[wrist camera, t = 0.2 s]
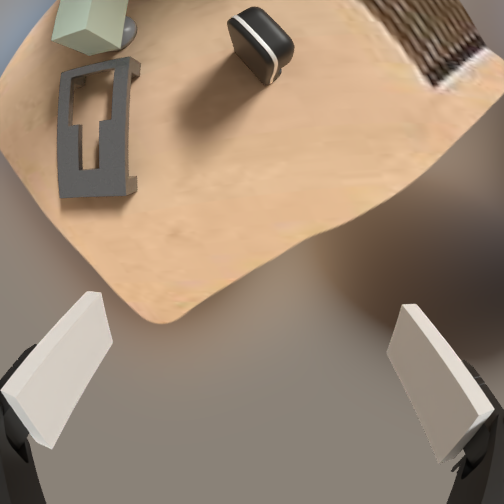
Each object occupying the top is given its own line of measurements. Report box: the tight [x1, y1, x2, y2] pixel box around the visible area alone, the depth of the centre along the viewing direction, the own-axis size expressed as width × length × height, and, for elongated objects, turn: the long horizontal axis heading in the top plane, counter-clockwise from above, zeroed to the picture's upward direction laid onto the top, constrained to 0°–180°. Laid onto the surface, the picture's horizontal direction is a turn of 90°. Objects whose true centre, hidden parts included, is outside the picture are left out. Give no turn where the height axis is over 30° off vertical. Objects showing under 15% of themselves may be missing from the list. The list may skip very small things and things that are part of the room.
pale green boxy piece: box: [51, 0, 137, 56], centre depth 23 cm, size 8×6×12 cm
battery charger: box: [227, 7, 294, 86], centre depth 26 cm, size 7×4×11 cm, turn 37°
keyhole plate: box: [57, 57, 141, 198], centre depth 32 cm, size 18×11×4 cm, turn 178°
